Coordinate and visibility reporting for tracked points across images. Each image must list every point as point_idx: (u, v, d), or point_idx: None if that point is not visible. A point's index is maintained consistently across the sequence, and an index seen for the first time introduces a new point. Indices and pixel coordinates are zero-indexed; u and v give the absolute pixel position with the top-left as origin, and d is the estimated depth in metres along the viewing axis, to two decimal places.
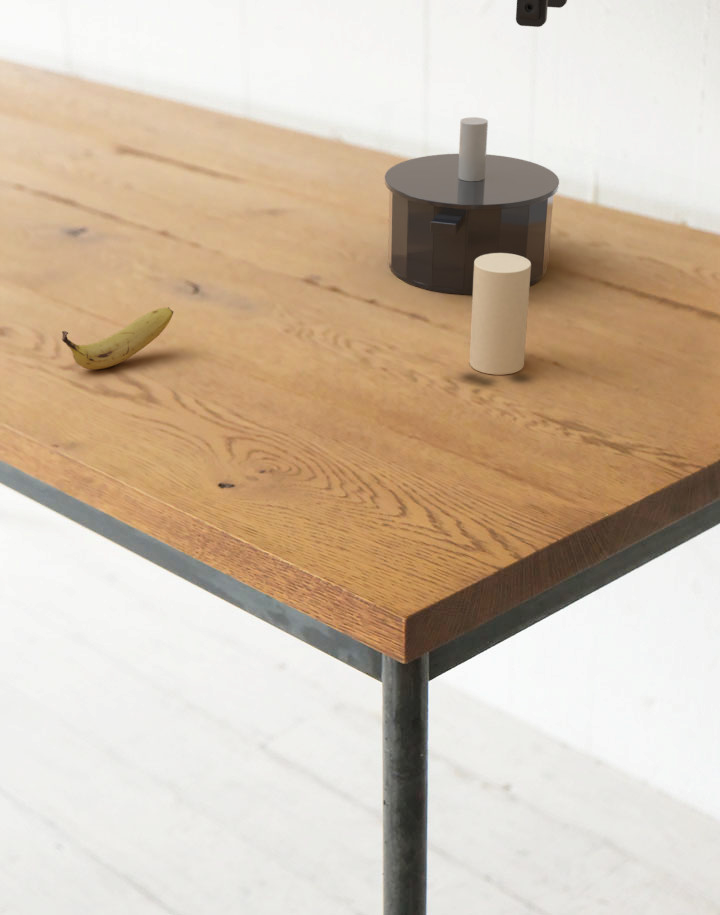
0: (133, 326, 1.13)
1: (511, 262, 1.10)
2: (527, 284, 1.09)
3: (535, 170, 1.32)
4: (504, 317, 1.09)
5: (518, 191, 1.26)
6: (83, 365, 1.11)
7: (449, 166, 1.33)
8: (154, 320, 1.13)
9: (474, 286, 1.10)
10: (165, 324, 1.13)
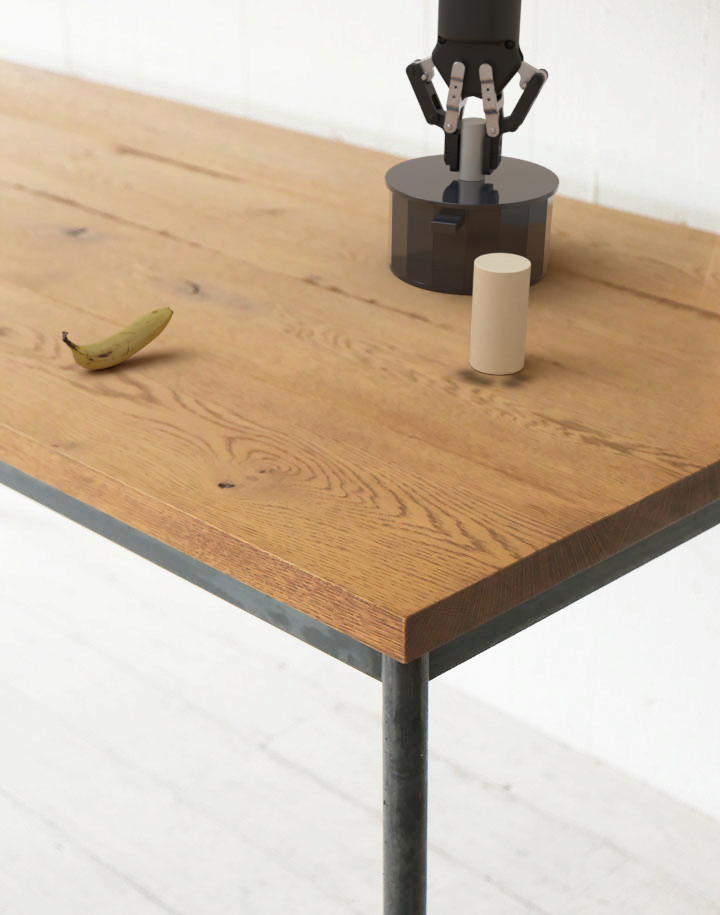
0: (133, 326, 1.13)
1: (511, 262, 1.10)
2: (527, 284, 1.09)
3: (535, 170, 1.32)
4: (504, 317, 1.09)
5: (518, 191, 1.26)
6: (83, 365, 1.11)
7: (449, 166, 1.33)
8: (154, 320, 1.13)
9: (474, 286, 1.10)
10: (165, 324, 1.13)
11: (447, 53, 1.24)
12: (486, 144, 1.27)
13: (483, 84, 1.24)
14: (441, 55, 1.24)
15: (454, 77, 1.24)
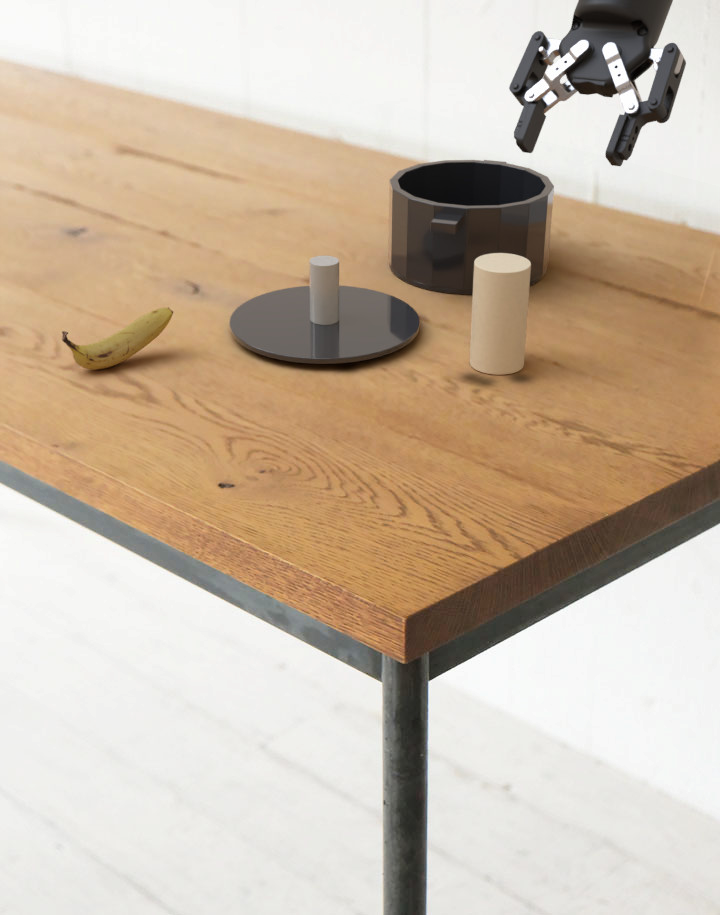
0: (133, 326, 1.13)
1: (511, 262, 1.10)
2: (527, 284, 1.09)
3: (397, 309, 1.21)
4: (504, 317, 1.09)
5: (370, 338, 1.15)
6: (83, 365, 1.11)
7: (304, 303, 1.22)
8: (154, 320, 1.13)
9: (474, 286, 1.10)
10: (165, 324, 1.13)
11: (576, 41, 1.15)
12: (619, 121, 1.11)
13: (610, 63, 1.12)
14: (569, 40, 1.15)
15: (574, 55, 1.14)
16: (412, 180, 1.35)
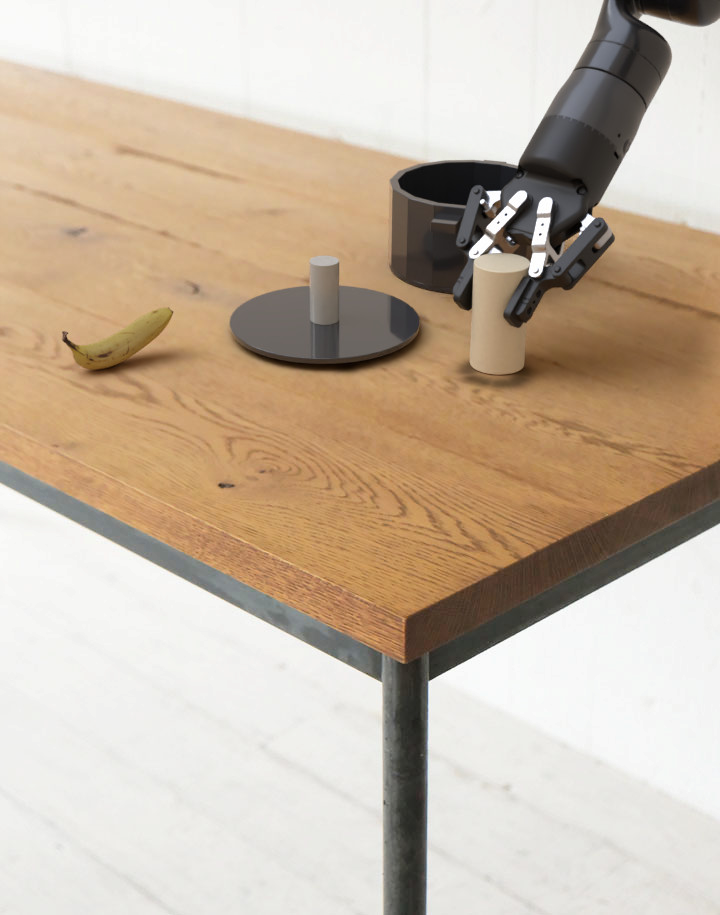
0: (133, 326, 1.13)
1: (510, 262, 1.10)
2: None
3: (397, 309, 1.21)
4: None
5: (370, 338, 1.15)
6: (83, 365, 1.11)
7: (304, 303, 1.22)
8: (154, 320, 1.13)
9: (474, 286, 1.10)
10: (165, 324, 1.13)
11: (517, 188, 1.12)
12: (522, 283, 1.08)
13: (539, 218, 1.09)
14: (511, 188, 1.12)
15: (512, 205, 1.11)
16: (412, 180, 1.35)
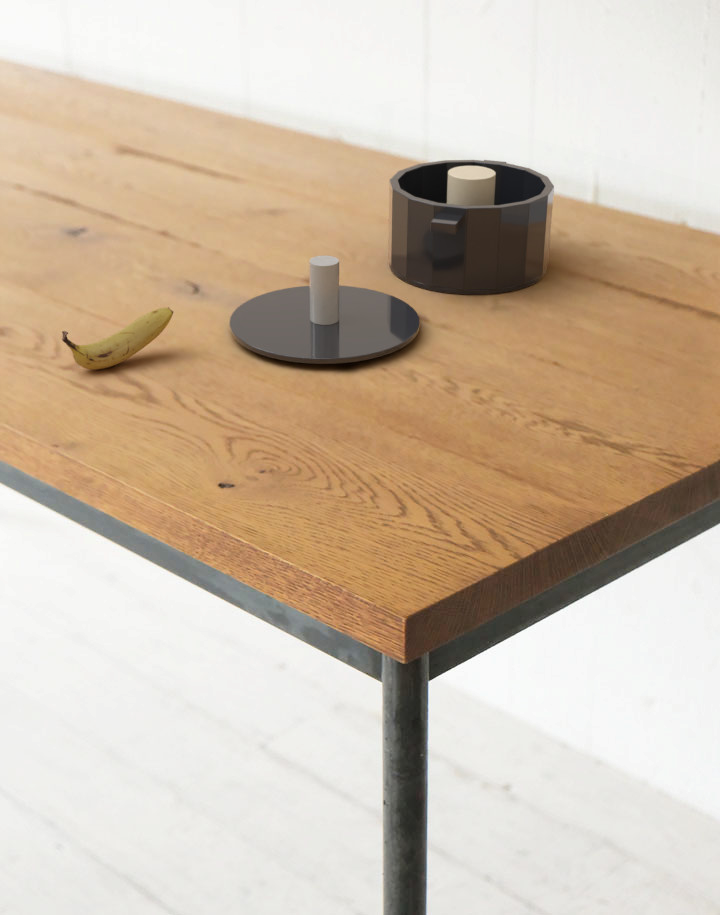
0: (133, 326, 1.13)
1: (479, 172, 1.30)
2: (492, 190, 1.30)
3: (397, 309, 1.21)
4: None
5: (370, 338, 1.15)
6: (83, 365, 1.11)
7: (304, 303, 1.22)
8: (154, 320, 1.13)
9: (448, 192, 1.30)
10: (165, 324, 1.13)
11: None
12: None
13: None
14: None
15: None
16: (412, 180, 1.35)
